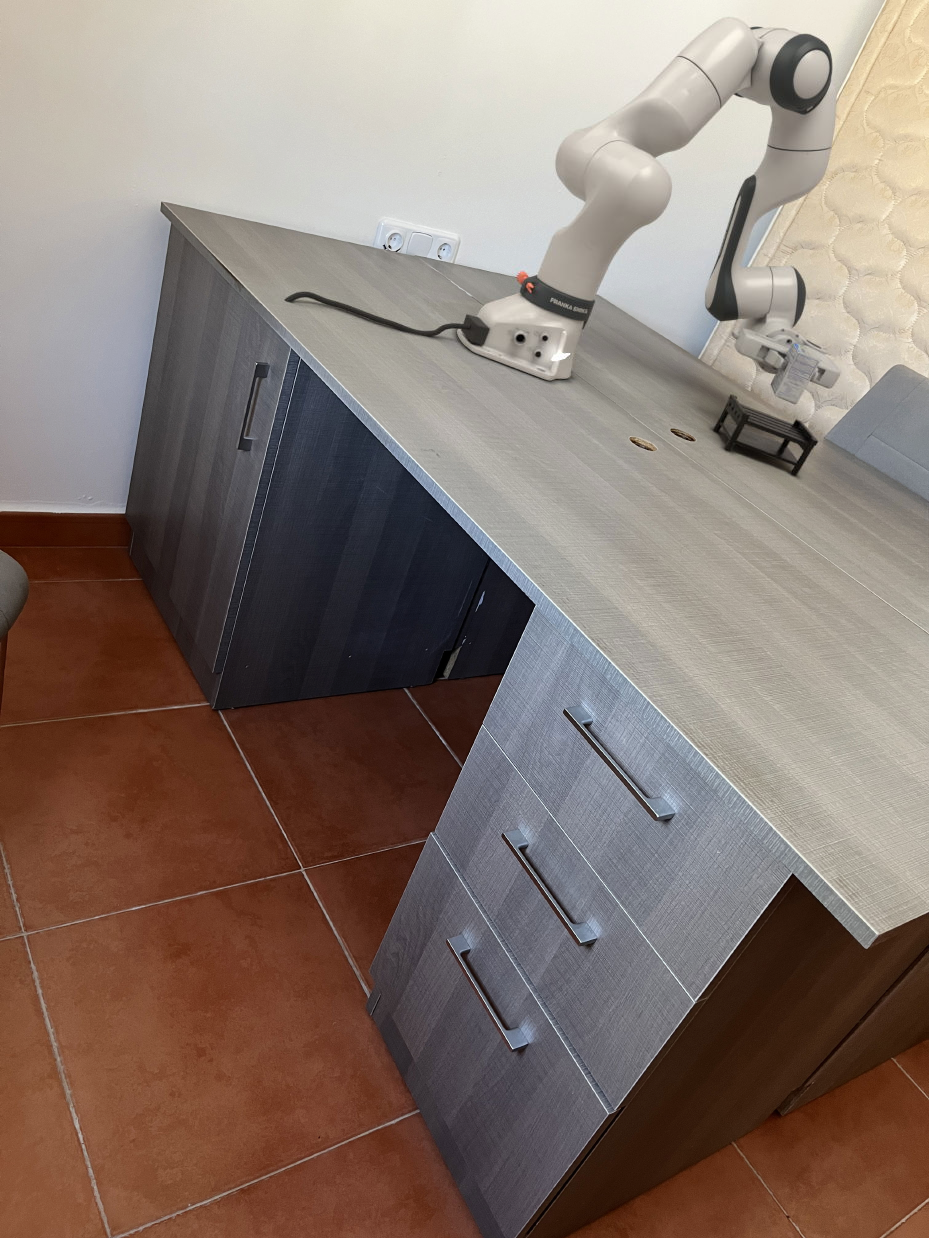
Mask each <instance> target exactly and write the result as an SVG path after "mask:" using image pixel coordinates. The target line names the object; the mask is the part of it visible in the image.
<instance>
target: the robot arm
mask: <svg viewBox="0 0 929 1238" xmlns="http://www.w3.org/2000/svg"><path fill="white" fill-rule="evenodd" d="M832 77H833V57H832V53H831V50H830V48H829V46H828V45H827V44H826V42H825V41H824V40H822V39H820V38H819V37H817V36H815V35H812V34H810V33H800V32H797V31H794V30H789V29H787V28H784V27H764V26H749V25H748V24H747V23H746V22H744V21H743V20H741V19H739V18H737V17H734V16H726V17H725V16H724V17H722V18H720V19H718V20H716V21H715V22H713V23H712V24H711V25H709V26H708V27H707V28H705V29H704V30H703V31H702V32H700V33H699V34H698V35H697V36H696V37H694V38H693V39H692V40H691V41H690V42H689V43H688V44H687V45H686V46H685V47H684V48H683V49H682V50H681V51H680V52H679V53H678V54H677V55H676V56H675V57H674V58H673V59H672V60H671V61H670V62H669V64H668V65H667V66H666V67H665V68H664V69H663V70H662V71H661V72H660V73H659V74H658V75H657V76H656V77H655V78H654V79H653V80H652V81H651V82H650V83H649V85H647V86H646V87H645V89H644V90H642V91H641V92H640V93H639V94H638V95H637V96H635V97H634V98H633V99H632V100H630V101H629V102H628V103H626V104H625V105H623V106H622V107H620V109H618V110H616V111H615V112H613V113H612V114H610V115H609V116H607V117H605V118H604V119H602V120H600V121H598V122H597V123H594V124H593V125H590V126H587V127H584V128H580V129H577V130H574V131H572V132H569V134H568V135H567V136H566V137H564V139H563V140H562V141H561V143H560V144H559V147H558V149H557V152H556V155H555V161H554V163H555V164H554V165H555V172H556V176H557V177H558V179H559V180H560V181H561V183H562V185H564V187H565V188H566V190H568V191H569V193H570V194H571V195H573V196H574V197H576V198H578V199H579V200H581V201H583V202H584V204H583V206H582V208H581V210H580V211H579V212H578V213H577V215H576V217H575V218H574V219H573V220H572V221H571V222H570V223H569V224H568V225H566V226H563V227H560V228H558V229H557V230H556V231H555V232H554V233H553V235H552V236H551V239H550V241H549V243H548V246H547V249H546V250H545V251H546V252H545V254H544V257H543V259H542V262H541V264H540V266H539V270H538V272H537V274H536V275H532V276H529V275H528V273H527V272H526V271H524V270H521V271H519V272H518V273H517V274H516V280H517V282H518V283H519V285H520V286H521V287H520V289H519V292H518V293H515V294H512V295H508V296H506V297H502V298H499V299H495V300H493V301H489V302H487V303H485V304H484V305H483V306H482V307H481V309H480V310H479V311H478V313H477V314H476V315H472V314H468V313H466V315H465V317H464V320H463V323H458V322H454V323H453V322H450V323H444V324H442V325H441V326H439V327H437V328H436V329H433V330H420V329H415V328H413V327H409V326H407V325H404V324H402V323H399V322H397V321H394V320H391V319H388V318H384V317H382V316H377V315H376V314H373V313H370V312H367V311H365V310H362V309H359V308H357V307H355V306H352V305H349V304H346V303H343V302H341V301H336V300H332V299H329V298H327V297H325V296H321V295H319V294H317V293H313V292H312V291H311V292H310V291H297V292H295V293H291V294H290V295H289V296H287V297H286V298H284V302H286V303H293V302H294V301H296V300H299V299H303V298H305V299H306V298H307V299H311V300H314V301H316V302H319V303H321V304H323V305H327V306H330V307H334V308H338V309H340V310H343V311H346V312H349V313H352V314H354V315H357V316H360V317H361V318H365V319H367V320H370V321H373V322H375V323H379V324H381V325H385V326H388V327H391V328H394V329H397V330H399V331H401V332H405V333H408V334H413V335H418V336H423V337H435V336H438V335H440V334H442V333H443V332H445V331H446V330H447V331H448V330H451V329H452V330H454V329H455V330H456V334H457V338H458V339H459V341H460V342H461V343H462V345H464V346H465V348H467V349H468V350H470V351H471V352H472V353H474V354H477V355H480V356H481V357H482V356H483V357H485V358H487V359H490V360H493V361H496V362H498V363H501V364H503V365H506V366H509V367H511V368H514V369H516V370H519V371H522V372H525V373H526V374H527V373H528V374H530V375H532V376H535V377H538V378H541V379H543V380H545V381H554V380H556V379H557V380H558V379H559V380H563V379H564V380H566V379H569V378H571V376H572V369H573V362H574V358H575V354H576V350H577V346H578V343H579V339H580V336H581V333H582V331H583V330H584V329H585V327H586V325H587V324H588V322H589V320H590V318H591V315H592V312H593V309H594V306H595V303H596V300H595V298H596V295H597V293H598V292H599V289H600V286H601V284H602V282H603V280H604V278H605V276H606V273H607V272H608V270H609V267H610V265H611V263H612V261H613V260H614V258H615V256H616V255H617V253H618V252H619V251H620V249H621V248H622V247H623V245H624V244H625V243H626V242H627V241H628V239H629V238H631V237H632V235H633V234H635V233H636V232H637V231H638V230H640V229H641V228H643V227H645V226H648V225H650V224H652V223H654V222H655V221H657V220H658V219H659V218H660V217H661V216H662V215H663V214H664V212H665V211H666V209H667V208H668V205H669V203H670V200H671V197H672V193H673V182H672V177H671V175H670V173H669V171H668V170H667V169H666V168H665V167H664V166H663V164H661V162H660V161H659V160H657V159H656V158H658V157H660V156H662V155H665V154H669V153H672V152H675V151H676V152H677V151H679V150H681V149H682V148H684V147H686V146H687V145H688V144H690V142H691V141H692V140H693V139H694V138H696V136H697V135H698V134H699V133H700V131H702V129H704V127H706V125H707V124H708V123H709V122H710V121H711V120H712V119H713V118H714V116H716V114H718V112H720V110H721V109H722V108H723V107H724V106H725V105H726V104H727V103H728V101H729V100H730V99H731V98H732V97H733V96H736V97H739V98H741V99H746V100H749V101H752V102H755V103H757V104H759V105H763V106H767V107H769V108H770V112H771V123H770V128H769V132H768V137H767V142H766V143H767V145H766V149H765V153H764V155H763V158H762V160H761V162H760V164H759V166H758V167H757V169H756V170H755V172H754V173H753V174H752V175H750V176H748V177H747V178H745V179H744V181H743V183H742V184H741V186H740V188H739V191H738V193H737V195H736V199H735V201H734V204H733V208H732V211H731V213H730V217H729V220H728V223H727V226H726V230H725V233H724V236H723V239H722V242H721V244H720V245H721V246H720V248H719V252H718V256H717V258H716V261H715V264H714V266H713V269H712V271H711V273H710V276H709V279H708V281H707V284H706V288H705V291H704V292H705V293H704V305H705V309H706V310H707V312H708V313H709V314H710V315H711V316H712V317H713V318H714V319H716V320H717V321H719V322H720V323H722V322H730V321H737V320H741V322H740V325H739V331H735V330H732V332H731V337H732V338H733V339H735V342H734V344H733V345H734V350H736V352H737V353H738V354H740V355H741V356H744V357H746V358H749V359H751V360H754V362H755V363H756V364H757V365H758V367H759V368H760V369H761V370H762V371H764V372H766V373H767V374H770V375H771V374H772V375H775V374H776V373H777V371H778V369H780V370H783V371H784V370H785V368H786V366H787V365H788V361H787V360H786V359H784V358H785V356H786V355H787V353H788V350H789V349H790V347H791V345H792V344H793V343H796V344H799V345H802V346H805V347H807V348H809V349H811V350H813V351H814V352H815V353H816V354H817V356H818V357H819V359H820V363H819V365H818V366H817V368H816V370H815V372H814V374H813V375H812V377H811V379H810V381H809V382H810V383H813V384H816V385H818V386H821V387H823V388H825V389H829V390H830V389H832V388H833V387H834V386H835V385H836V383H837V382H838V380H839V378H840V377H841V369H840V368H839V366H838V365H837V364H836V363H835V362H834V361H833V360H832V359H831V358H830V357H828V356H827V355H826V353H827V351H826V350H825V349H824V347H821V346H819V345H818V344H816V343H813V342H812V341H810V340H808V339H806V338H804V337H803V336H802V334H800V333H799V332H798V331H796V330H794V329H793V328H794V327H795V326H796V325H797V324H798V322H799V321H800V319H801V318H802V315H803V312H804V309H805V306H806V299H807V288H806V283H805V281H804V278H803V277H802V275H801V273H800V272H799V271H798V269H796V267H794V265H767V266H741V265H742V263H743V259H744V256H745V252H746V250H747V247H748V243H749V240H750V238H751V234H752V231H753V229H754V227H755V225H756V223H757V222H758V221H759V220H760V219H761V218H762V217H763V216H764V215H766V214H768V213H770V212H772V211H773V210H775V209H778V208H781V207H782V206H784V205H787V204H790V203H793V202H796V201H798V200H799V199H801V198H803V197H804V196H806V195H809V193H810V192H812V191H813V190H814V189H815V188H816V187H818V185H819V184H820V183H821V182H822V180H823V178H824V176H825V174H826V172H827V169H828V165H829V160H830V157H831V152H832V147H833V141H834V136H835V127H836V119H837V118H836V117H837V98H838V97H837V96H838V95H837V93H838V92H837V87H836V85H835V83H834V81H833V80H832Z"/></svg>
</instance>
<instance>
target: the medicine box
mask: <svg viewBox="0 0 929 1238" xmlns="http://www.w3.org/2000/svg"><path fill="white" fill-rule="evenodd" d="M784 359H786V360H787V361H788V365H787V366H786V368H785V370H784V371H783V370H780V369H778V371H777V373H776V374H774V376H773V378H772V380H771V382H770V384H769V385H770V388H771V390H772V392H773V394H774V396H775V397H776V398H778V399H781V400H783V401H785V402H788V403H790V404H793V405H797V404H798V402H799V401H800V399H801V397H802V396H803V394H804V393H805V390H806V388H807V386H808V384H809V382H810V379H811V377H812V375H813V374H814V372H815V370H816V368H817V366H818V365H819V363H820V359H819V357H818V356H817V354H816V353H815V352H814V351H813V350H811V349H809V348H807V347H805V346H802V345H799V344H796V343H793V344H792V345H791V347H790V349H789V350H788V353H787V355H786V356H785V358H784Z"/></svg>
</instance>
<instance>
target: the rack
mask: <svg viewBox="0 0 929 1238" xmlns="http://www.w3.org/2000/svg"><path fill="white" fill-rule="evenodd" d="M728 416H729V417H730V419H732V421H733V423H730V422H728V421H726V419H727V418H728ZM745 426H749V427H751V428H754V429H757V430H760V431H761V432H765V433H767V434H770V435H773V436H775V437H778V438H780V439H783V440H782V442H781V441H778V440H775V439H774V438H770V437H767V436H765V435H762V434H759V433H758V432H754V431H751V430H749V429H746V428H745ZM721 429H722V430H723V432H724V434H725V435H726V437H727V438H728V441H727V442H726V445H725V447H724V450H725V451H726V452H729V453H730V452H731V451H732V450H733V448H734V446H735V444H736V445H738V446H741V447H742V448H745V449H749V450H751V451H754V452H757V453H758V454H762V455H764V456H767V457H770V458H773V459H775V460H778V461H780V462H784V463H787V464H789V465H792V466H793V468H792V469H791V471H790V475H792V476H793V477H797V475H798V474H799V472H800V470H801V468H803V466H804V464H805V462H806V460H807V459H808V458H809V456H810V454H811V453H812V451H813V450H814V448H815V447H816V446H817V445H818V443H819V439H817V438H816V437H815V435H814V434H813V433H812V432H811V431H810V430H809V428H808V427H807V426H806V425H805V424H804V422H803V421H801V420H800V419H797V418H796V419H794V421H793V423H792V422H789V421H787V420H784V419H781V418H779V417H776V416H773V415H770V414H768V413H765V412H763V411H760V410H758V409H756V408H752V407H750V406H748V405H745V404H743V403H740V402H739V400H738V396H737V395H735V394H729V395H728V398H727V402H726V404H725V406H724V408H723V410H722V412H721V414H720V416H719V417H718V419H717V421H716V423H715V425H714V427H713V428H712V431H713V432H715V433H719V432H720V431H721ZM790 443H794V444H797V445H798V446H799V448H800V449H801V450H802V452H801V454H800V456H799V457H798V459H797V457H796V456H795V455H794V453H793V451H791V449H790V448H789V447H788V446H789V444H790Z"/></svg>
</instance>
